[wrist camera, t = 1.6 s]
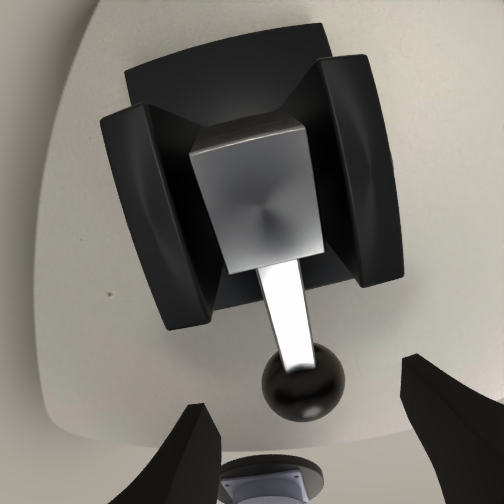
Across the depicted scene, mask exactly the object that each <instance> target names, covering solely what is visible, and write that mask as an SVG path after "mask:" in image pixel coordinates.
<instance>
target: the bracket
mask: <svg viewBox="0 0 504 504" xmlns="http://www.w3.org/2000/svg"><path fill="white" fill-rule="evenodd" d="M124 74H125V78H126V83H127V88H128V92H129V97H130V101H131V106H130V107H128V108H125V109H123V110H120V111H118V112H115V113H113V114H110V115H108V116H106V117H103V118H102V119H101V120H100V127H101V131H102V135H103V139H104V143H105V147H106V151H107V155H108V159H109V163H110V167H111V170H112V174H113V178H114V181H115V185H116V188H117V192H118V195H119V199H120V202H121V205H122V208H123V212H124V215H125V219H126V222H127V226H128V228H129V231H130V234H131V237H132V240H133V243H134V246H135V249H136V251H137V254H138V257H139V260H140V263H141V266H142V268H143V271H144V274H145V277H146V279H147V282H148V285H149V287H150V290H151V293H152V295H153V298H154V300H155V303H156V305H157V308H158V310H159V313H160V315H161V318H162V320H163V323H164V325H165V328H166V329H167V330H169V331H171V330H176V329H182V328H187V327H193V326H198V325H204V324H208V323H210V322H211V318H212V314H213V311H214V310H219V309H224V308H229V307H234V306H238V305H243V304H248V303H252V302H257V301H261V300H264V298H263V295H262V291H261V288H260V284H259V281H258V277H257V274H256V270H255V269H253V270H249V271H244V272H240V273H235V274H231V275H228V273H227V272H226V269H225V266H224V263H223V260H222V258H221V255H220V252H219V249H218V246H217V243H216V240H215V237H214V234H213V231H212V229H211V226H210V223H209V220H208V217H207V214H206V211H205V208H204V205H203V202H202V199H201V196H200V193H199V190H198V187H197V184H196V181H195V178H194V174H193V171H192V168H191V165H190V162H189V159H188V152H189V150H190V148H191V146H192V144H193V142H194V140H195V137H196V135H197V133H198V131H199V130H200V129H202V128H205V127H209V126H212V125H216V124H220V123H224V122H228V121H232V120H236V119H240V118H244V117H248V116H252V115H257V114H261V113H266V112H270V111H275V110H280V109H285V110H287V111H288V112H289V113H290V114H292V115H293V116H294V117H296V118H297V119H298V120H299V121H301V122H302V123H303V124H304V125H306V127H307V131H308V136H309V141H310V147H311V153H312V158H313V164H314V170H315V176H316V183H317V189H318V196H319V202H320V209H321V216H322V224H323V231H324V239H325V247H326V251H325V252H324V253H321V254H317V255H313V256H309V257H305V258H300V259H299V261H300V266H301V272H302V278H303V284H304V289H305V290H309V289H313V288H317V287H321V286H326V285H330V284H334V283H338V282H342V281H346V280H349V279H353V278H355V280H356V281H357V282H358V284H359V285H360V287H362V288H366V287H370V286H373V285H377V284H381V283H384V282H388V281H391V280H395V279H399V278H402V277H403V276H404V259H403V245H402V234H401V224H400V215H399V206H398V198H397V191H396V184H395V177H394V168H393V160H392V156H391V152H390V148H389V143H388V138H387V133H386V128H385V123H384V119H383V114H382V110H381V105H380V101H379V97H378V93H377V89H376V85H375V82H374V78H373V74H372V71H371V67H370V64H369V60H368V57H367V56H366V55H364V54H357V55H345V56H335V57H333V56H332V53H331V49H330V46H329V43H328V40H327V37H326V34H325V30H324V27H323V24H322V23H312V24H304V25H296V26H289V27H282V28H276V29H270V30H264V31H259V32H253V33H248V34H244V35H239V36H235V37H230V38H226V39H222V40H218V41H214V42H210V43H206V44H203V45H199V46H196V47H192V48H189V49H186V50H182V51H179V52H176V53H173V54H170V55H167V56H164V57H161V58H158V59H155V60H152V61H150V62H147V63H144V64H141V65H139V66H136V67H134V68H131V69H129V70H126V71H125V72H124Z"/></svg>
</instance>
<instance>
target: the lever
mask: <svg viewBox="0 0 504 504" xmlns="http://www.w3.org/2000/svg"><path fill="white" fill-rule="evenodd" d="M188 159H189V162H190V165H191V168H192V171H193V174H194V178H195V181H196V184H197V187H198V190H199V193H200V196H201V199H202V202H203V205H204V208H205V211H206V214H207V217H208V220H209V223H210V226H211V229H212V231H213V234H214V237H215V240H216V243H217V246H218V249H219V252H220V255H221V258H222V260H223V263H224V266H225V269H226V272H227V273H228V275H231V274H235V273H240V272H244V271H249V270H253V269H255V270H256V274H257V277H258V281H259V284H260V288H261V291H262V295H263V298H264V302H265V305H266V309H267V312H268V316H269V319H270V323H271V326H272V330H273V333H274V337H275V340H276V344H277V347H278V351H277V352H276V353H275V354H274V355H273V356H272V357H271V358H270V360H269V361H268V363H267V364H266V366H265V369H264V372H263V376H262V391H263V395H264V398H265V400H266V402H267V403H268V405H269V406H270V408H271V409H272V410H273V411H274V412H275V413H276V414H278V415H279V416H281V417H283V418H285V419H287V420H290V421H295V422H309V421H314V420H317V419H319V418H322V417H323V416H325V415H327V414H328V413H329V412H331V411H332V410H333V409H334V408H335V406H336V405H337V404H338V402H339V401H340V399H341V397H342V394H343V391H344V386H345V375H344V370H343V367H342V365H341V362H340V361H339V359H338V358H337V357H336V355H335V354H334V353H333V352H332V351H330V350H329V349H328V348H326V347H324V346H322V345H320V344H317V343H313V339H312V332H311V326H310V320H309V313H308V307H307V301H306V295H305V289H304V284H303V278H302V272H301V266H300V261H299V259H300V258H305V257H309V256H313V255H317V254H321V253H324V252H325V251H326V247H325V239H324V231H323V224H322V216H321V209H320V202H319V196H318V189H317V183H316V176H315V170H314V164H313V158H312V153H311V147H310V141H309V136H308V131H307V127H306V125H304V124H303V123H302V122H301V121H299V120H298V119H297V118H296V117H294V116H293V115H292V114H290V113H289V112H288V111H287V110H285V109H280V110H275V111H270V112H266V113H261V114H257V115H252V116H248V117H244V118H240V119H236V120H232V121H228V122H224V123H220V124H216V125H212V126H209V127H205V128H202V129H200V130H199V131H198V133H197V135H196V137H195V140H194V142H193V144H192V146H191V148H190V150H189V152H188Z"/></svg>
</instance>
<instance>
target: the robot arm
mask: <svg viewBox="0 0 504 504" xmlns="http://www.w3.org/2000/svg"><path fill="white" fill-rule="evenodd" d="M400 398H401V401H402V403H403V406H404V409H405V411H406V414H407V416H408V419H409V421H410V423H411V425H412V426H413V428H414V430H415V432H416V434H417V436H418V438H419V440H420V441H421V443H422V445H423V447H424V449H425V451H426V453H427V455H428V457H429V458H430V460H431V462H432V464H433V467H434V469H435V471H436V475H437V477H438V480H439V483H440V486H441V489H442V492H443V496H444V499H445V503H446V504H504V405H503V404H501V403H499V402H496V401H494V400H492V399H489V398H487V397H485V396H483V395H481V394H479V393H478V392H476V391H474V390H472V389H470V388H469V387H467V386H465V385H463V384H462V383H460V382H459V381H457V380H456V379H454V378H452V377H451V376H449V375H448V374H446V373H445V372H443V371H442V370H440V369H439V368H438V367H436V366H435V365H433V364H432V363H430V362H429V361H428V360H426V359H425V358H423V357H422V356H420V355H419V354H414V355H411V356H408V357H405V358H402V374H401V390H400ZM220 469H221V436H220V434H219V432H218V430H217V428H216V426H215V424H214V422H213V420H212V418H211V416H210V414H209V412H208V410H207V408H206V406H205V404H204V403H199V404H190V405H188V406H187V407H186V409H185V410H184V412H183V413H182V415H181V417H180V418H179V420H178V421H177V423H176V425H175V426H174V428H173V429H172V431H171V432H170V434H169V435H168V437H167V438H166V440H165V441H164V443H163V444H162V446H161V447H160V449H159V450H158V452H157V453H156V454H155V456H154V457H153V458H152V459H151V461H150V462H149V463H148V465H147V466H146V467H145V468H144V469H143V471H142V472H141V473H140V474H139V475H138V476H137V477H136V478H135V480H134V481H133V482H132V483H131V484H130V485H129V486H128V487H127V488H126V489H124V490H123V491H122V492H121V493H120V494H119V495H118V496H117V497H115V498H114V499H113V500H112V501H111V502H109V503H108V504H216V503H217V495H218V486H219V478H220ZM221 484H222V485H223V487H224V488H225V490H226V491H227V492H228V494H229V495H230V497H231V498H232V499H233V504H310V501H309V498H308V495H307V491H306V488H305V485H304V481H303V478H302V475H301V471H300V470H298V469H295V470H289V471H283V472H276V473H270V474H262V475H254V476H245V477H235V478H224V479H221Z"/></svg>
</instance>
